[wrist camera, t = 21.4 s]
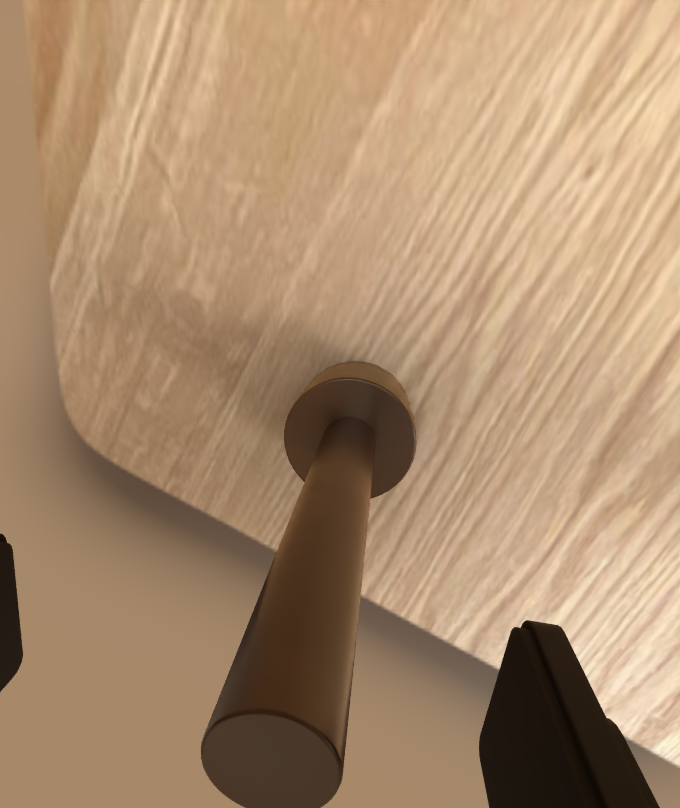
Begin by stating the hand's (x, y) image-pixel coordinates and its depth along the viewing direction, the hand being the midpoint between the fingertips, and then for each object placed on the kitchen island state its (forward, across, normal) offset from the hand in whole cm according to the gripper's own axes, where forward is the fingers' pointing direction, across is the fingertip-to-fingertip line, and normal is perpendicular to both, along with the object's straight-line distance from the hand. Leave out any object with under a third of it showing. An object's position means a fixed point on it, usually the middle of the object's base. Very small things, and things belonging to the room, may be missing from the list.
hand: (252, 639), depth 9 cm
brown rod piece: (+13, -1, 0) cm, 13 cm away
